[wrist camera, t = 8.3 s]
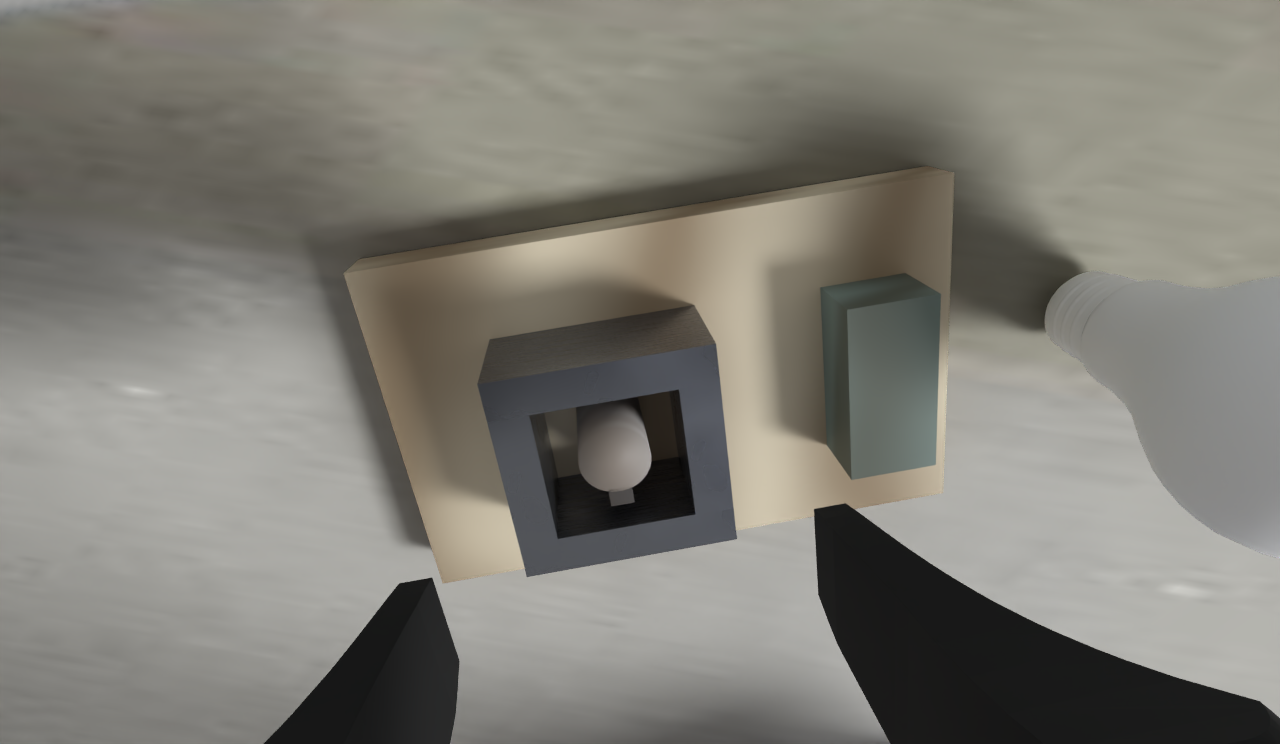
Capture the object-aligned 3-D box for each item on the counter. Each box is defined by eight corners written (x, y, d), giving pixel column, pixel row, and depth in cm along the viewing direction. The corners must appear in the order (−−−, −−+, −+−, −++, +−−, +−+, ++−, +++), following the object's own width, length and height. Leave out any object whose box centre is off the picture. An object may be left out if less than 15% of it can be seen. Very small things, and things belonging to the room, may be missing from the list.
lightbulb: (940, 285, 21) (1277, 476, 11) (1124, 160, 20) (1672, 246, 10) (1017, 426, 24) (1356, 689, 14) (1187, 319, 23) (1686, 518, 13)
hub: (694, 304, 19) (716, 343, 16) (714, 479, 21) (736, 539, 19) (489, 339, 19) (477, 384, 16) (531, 511, 21) (526, 576, 18)
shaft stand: (927, 166, 20) (1022, 190, 16) (921, 468, 24) (996, 551, 20) (358, 259, 19) (303, 309, 15) (450, 553, 23) (425, 656, 19)
